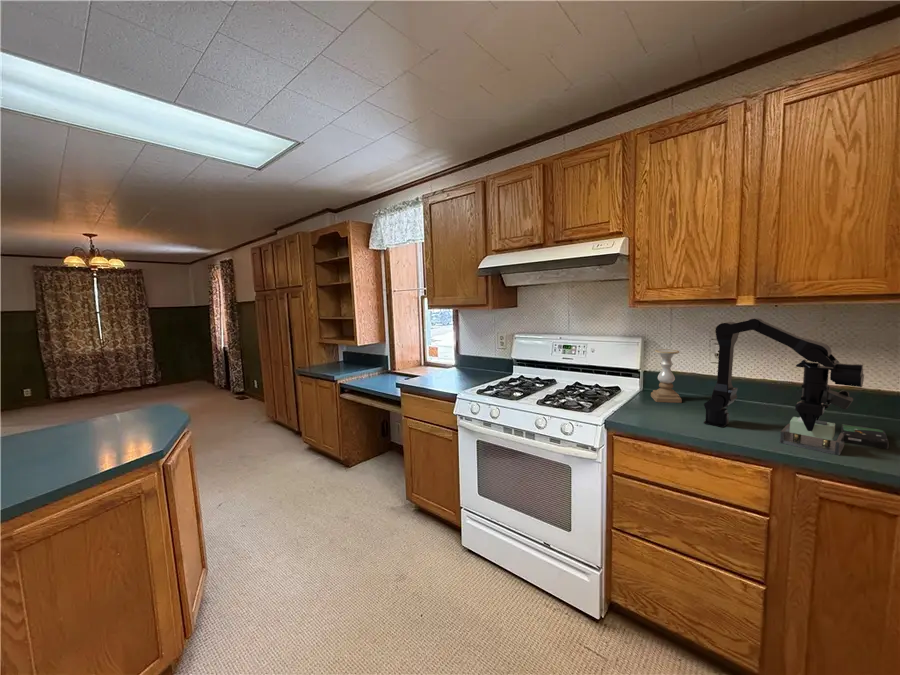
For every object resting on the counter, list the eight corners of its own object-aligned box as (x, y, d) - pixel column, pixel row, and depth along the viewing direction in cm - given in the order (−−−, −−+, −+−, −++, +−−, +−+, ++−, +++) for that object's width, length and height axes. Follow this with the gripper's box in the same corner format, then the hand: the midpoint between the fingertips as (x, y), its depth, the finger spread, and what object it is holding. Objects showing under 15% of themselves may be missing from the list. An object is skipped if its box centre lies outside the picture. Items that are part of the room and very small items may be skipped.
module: (789, 432, 124) (790, 419, 123) (792, 427, 128) (793, 414, 127) (832, 440, 116) (833, 426, 116) (834, 435, 120) (835, 421, 119)
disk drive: (889, 451, 116) (883, 437, 126) (890, 442, 116) (884, 429, 126) (841, 443, 123) (840, 430, 134) (842, 434, 123) (840, 422, 133)
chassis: (779, 442, 124) (780, 431, 124) (786, 434, 131) (787, 423, 131) (839, 455, 113) (840, 442, 113) (844, 445, 120) (845, 433, 120)
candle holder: (656, 402, 175) (657, 352, 172) (650, 396, 185) (651, 349, 183) (682, 403, 172) (683, 352, 169) (674, 396, 182) (676, 349, 180)
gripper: (848, 391, 108) (844, 442, 110) (855, 380, 119) (851, 427, 121) (796, 385, 117) (793, 432, 118) (807, 375, 128) (804, 419, 130)
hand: (812, 428), depth 122 cm, fingers open, 8 cm apart
